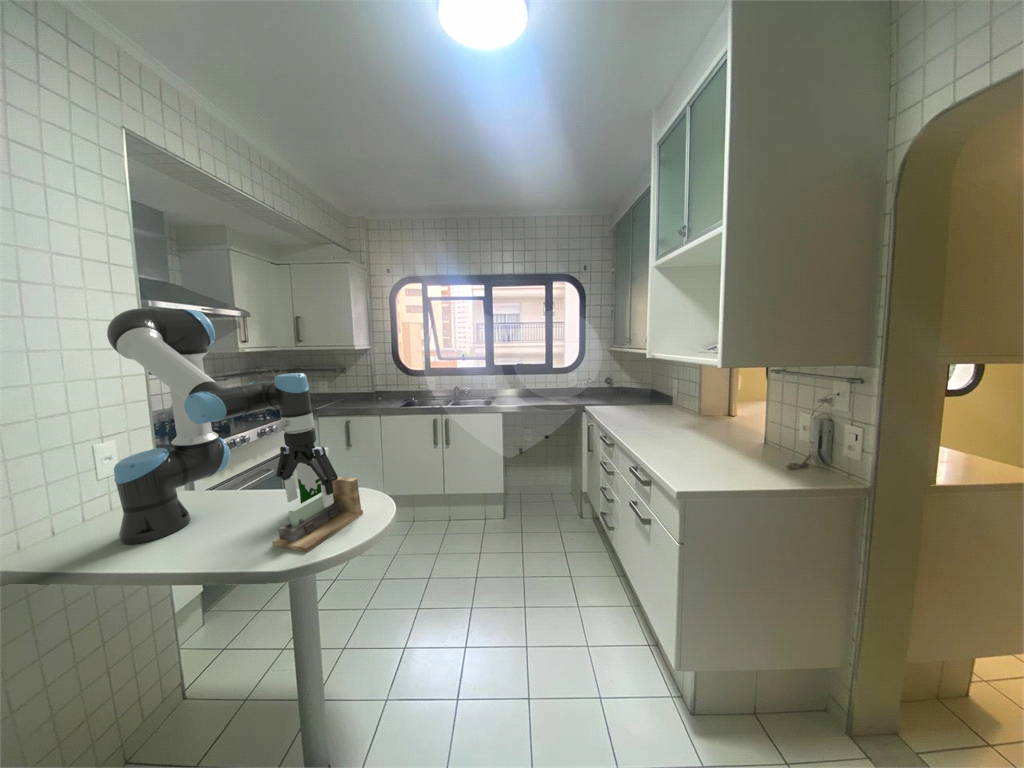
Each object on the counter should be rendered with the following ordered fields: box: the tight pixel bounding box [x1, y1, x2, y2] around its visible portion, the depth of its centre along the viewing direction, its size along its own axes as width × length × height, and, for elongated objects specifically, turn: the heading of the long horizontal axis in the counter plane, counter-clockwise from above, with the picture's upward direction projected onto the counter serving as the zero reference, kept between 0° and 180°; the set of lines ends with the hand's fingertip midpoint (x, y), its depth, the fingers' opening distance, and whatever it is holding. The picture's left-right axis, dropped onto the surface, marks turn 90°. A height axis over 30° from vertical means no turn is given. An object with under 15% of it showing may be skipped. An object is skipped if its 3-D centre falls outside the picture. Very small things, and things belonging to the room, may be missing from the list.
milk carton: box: [295, 446, 329, 504], centre depth 120 cm, size 9×9×20 cm
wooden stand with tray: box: [271, 476, 364, 553], centre depth 104 cm, size 12×20×11 cm, turn 160°
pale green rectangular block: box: [288, 492, 331, 528], centre depth 105 cm, size 3×12×7 cm, turn 162°
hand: (310, 502), depth 105 cm, fingers open, 13 cm apart
